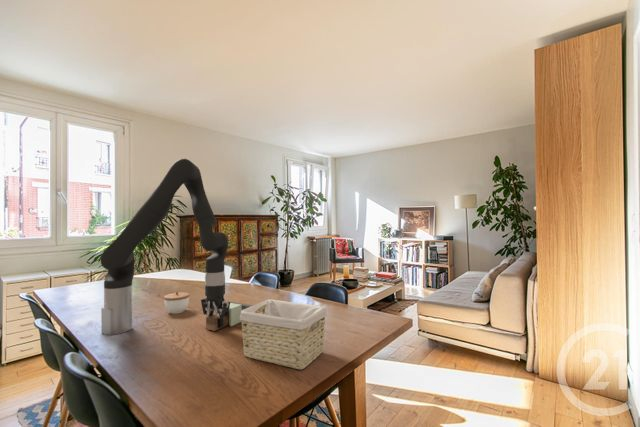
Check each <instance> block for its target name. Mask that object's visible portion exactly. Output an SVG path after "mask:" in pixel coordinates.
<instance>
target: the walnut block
mask: <svg viewBox="0 0 640 427" xmlns="http://www.w3.org/2000/svg"><path fill="white" fill-rule="evenodd" d="M220 315H221V312H220ZM217 319H218V318H217V314H216V313H214V314H213V315H211V316H208V317H207V316H206V318H205V329H206V330H209V331H213V332H215V331H217V330H220V329H221V328H217ZM227 326H230V324H229V312H228V316H226V317H224V318H223V327H222V328H225V327H227Z"/></svg>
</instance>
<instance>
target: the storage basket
mask: <svg viewBox="0 0 640 427" xmlns="http://www.w3.org/2000/svg"><path fill="white" fill-rule="evenodd" d="M327 314H328V313H327V308H326V307H325V306H324V305H321V306H320V305H314V304H308V303H298V302H291V301H285V300H278V299H272V298H269V299H266V300H264V301H261V302H258V303H256V304H253V306H251V307H248V308H246V309H244V310H242V311H241V315H240V320H241V322H240V323H241V332H242V333H241V337H242V344H243V355H244V357H247V358H250V359H255V360H258V361H262V362H265V363H266V362H267V363H270V364H274V365H275V364H276V365H278V366H284V367H288V368H292V369H296V370H303V369H305V368H306V367H308V366H309V365H310V364H311V363H312V362H313V361H315V360H316V359H317V358H318V357H319V356H320V355H321V354H322V353H323V352H324V343H325V342H324V340H325V324H326V317H327Z"/></svg>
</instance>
